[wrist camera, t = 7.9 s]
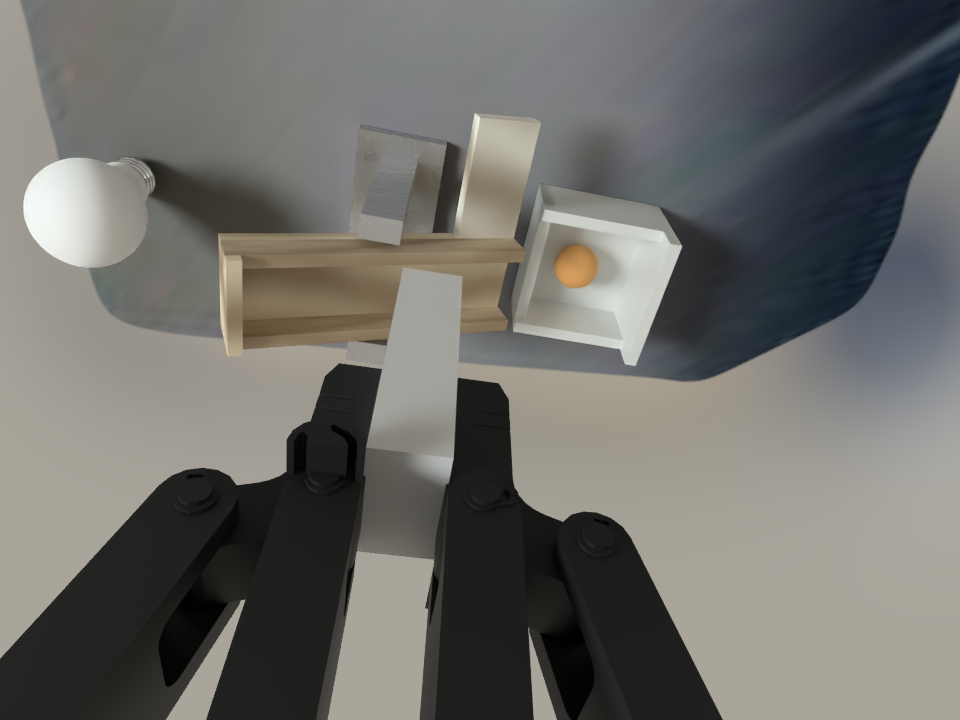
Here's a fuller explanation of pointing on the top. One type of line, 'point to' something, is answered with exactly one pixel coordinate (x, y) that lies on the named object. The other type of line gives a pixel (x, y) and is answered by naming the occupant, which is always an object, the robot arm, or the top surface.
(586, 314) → the tray
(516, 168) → the lever
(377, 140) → the stand
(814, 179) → the top surface
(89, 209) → the light bulb
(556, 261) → the ball
